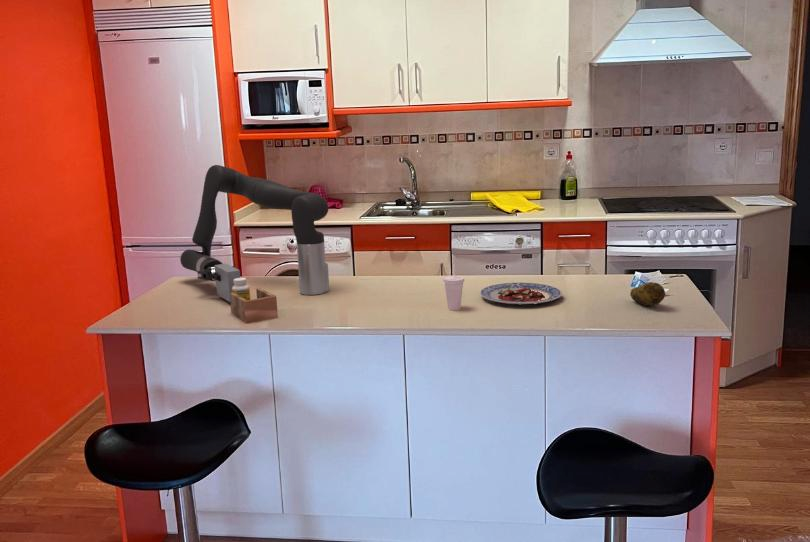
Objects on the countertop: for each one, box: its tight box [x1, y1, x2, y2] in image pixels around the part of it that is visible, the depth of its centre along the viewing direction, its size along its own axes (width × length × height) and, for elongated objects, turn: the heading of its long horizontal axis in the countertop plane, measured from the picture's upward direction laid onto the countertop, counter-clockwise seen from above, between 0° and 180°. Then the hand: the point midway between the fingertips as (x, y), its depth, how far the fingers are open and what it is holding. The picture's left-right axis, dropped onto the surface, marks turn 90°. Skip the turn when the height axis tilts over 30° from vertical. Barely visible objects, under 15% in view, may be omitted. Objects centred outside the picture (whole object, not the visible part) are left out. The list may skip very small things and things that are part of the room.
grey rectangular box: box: [214, 263, 241, 303], centre depth 245 cm, size 13×4×10 cm, turn 32°
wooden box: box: [229, 287, 279, 324], centre depth 228 cm, size 13×10×6 cm
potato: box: [629, 281, 666, 306], centre depth 224 cm, size 8×13×8 cm, turn 176°
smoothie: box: [443, 263, 465, 311], centre depth 227 cm, size 6×6×14 cm
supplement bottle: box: [232, 277, 251, 300], centre depth 236 cm, size 5×5×10 cm
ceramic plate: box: [479, 282, 563, 305], centre depth 238 cm, size 26×26×3 cm
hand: (226, 277), depth 246 cm, fingers closed on grey rectangular box, 4 cm apart
